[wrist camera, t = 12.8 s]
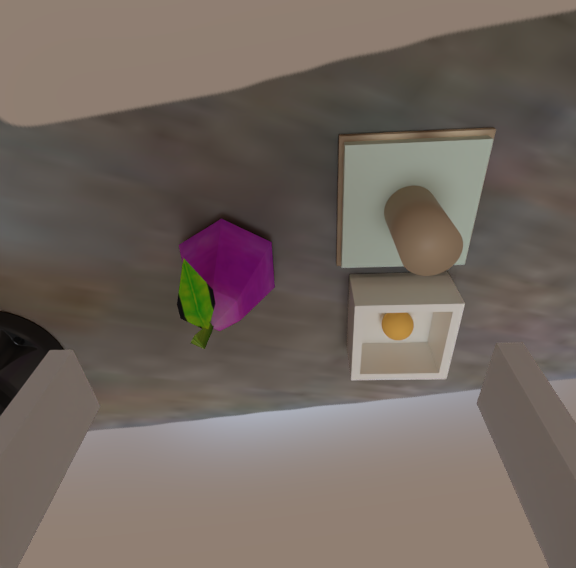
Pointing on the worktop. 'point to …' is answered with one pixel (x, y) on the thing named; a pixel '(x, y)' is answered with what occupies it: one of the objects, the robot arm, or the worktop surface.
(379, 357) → the white open box
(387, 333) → the orange
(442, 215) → the lid
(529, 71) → the worktop surface
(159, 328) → the worktop surface
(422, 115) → the worktop surface
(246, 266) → the magenta low-poly plum
